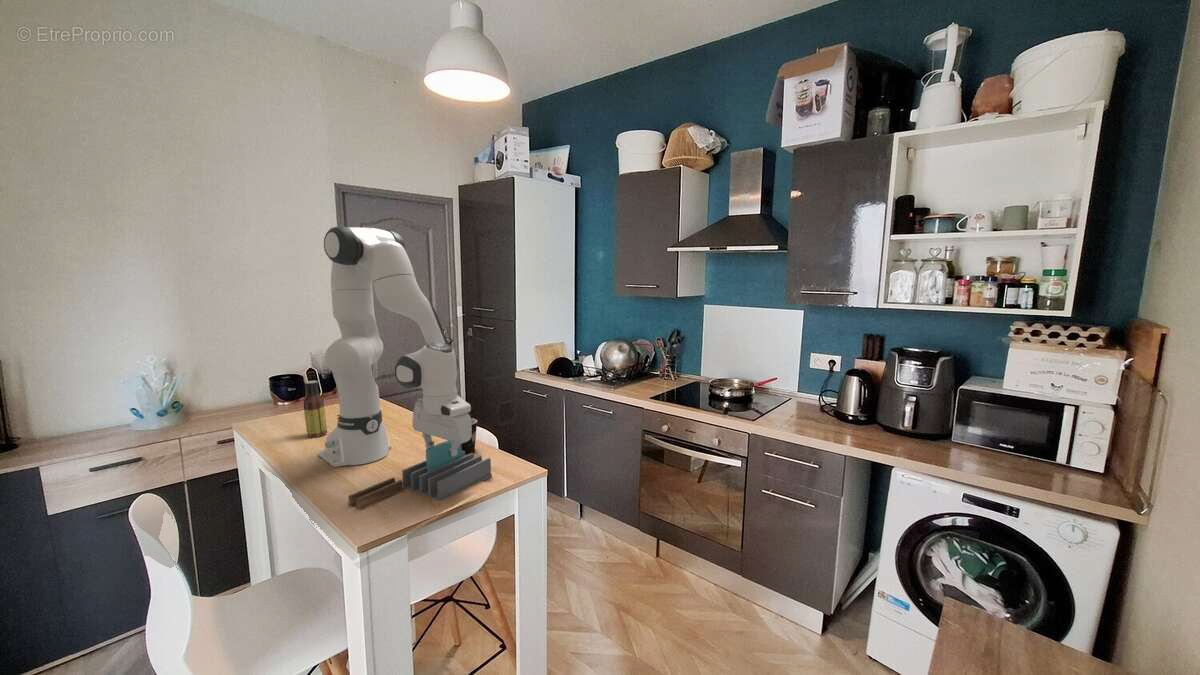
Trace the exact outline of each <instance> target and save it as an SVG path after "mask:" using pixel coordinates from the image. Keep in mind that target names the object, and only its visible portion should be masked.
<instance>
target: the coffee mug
mask: <svg viewBox="0 0 1200 675" xmlns="http://www.w3.org/2000/svg"><path fill="white" fill-rule="evenodd" d="M477 426H478V420H477V419H475V418H471V427H472V435H471V438H470V440H469V441H467V442H465V443H462V444H461V447H462V451H465V456H466V455H468V454H470V453H473V454H474V452H475V450H476V449H475V448H476V441H477V440H476V439H477V438H476V437H477V428H478V427H477Z"/></svg>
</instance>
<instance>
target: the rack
mask: <svg viewBox="0 0 1200 675" xmlns="http://www.w3.org/2000/svg"><path fill="white" fill-rule="evenodd" d="M482 457H483V456H482V455H476V456H474V452H473V453H470V454H468V455H465V451H462V457H461V458H459V459H456V460H454V461H452V462H450V463H447V464H445V465H443V466H440V467H438V468H436V469H434V470H431V471H429V472H427V467H426V460H423V461H421V462H419V463H417V464H416V463H415V464H414V465H411V466H409V467H407V468H404V469H402V470H401V473H402V484H403V489H404V488H405V489H407V490H410V491H412V492H416V493H418V494H420V495H423V496H427V497H429V498H431V499H435V500H437V501H440V502H441V501H443V500H445V499H447V498H449V497H451V496H453V495H455V494H457V493H459V492H461V491H462V490H465V489H466V488H468V487H470V486H472V485H474V484H476V483H479V482H480V481H481V482H485V481H487V480H489V479H490V478H493V474H492V468H491V466H492V465H491V461H492V459H491V457H487V458H485V459H483V458H482Z"/></svg>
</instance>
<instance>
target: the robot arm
mask: <svg viewBox="0 0 1200 675" xmlns="http://www.w3.org/2000/svg"><path fill="white" fill-rule="evenodd" d="M323 248H324V249H323V250H324V252H325V255H326V256H327V257H328V259H329V260H330V261H332V263H331V270H330V272H331V273H330V291H331V292H330V293H331V306H332V315H333V317H334V319H335V320H336V322H337V324H338V328H339V331H340V334H341V338H338V339H336V340H335V341H334V342H332V343H331V344H330V345H329V346H328V347H327V349H326V350H325V352H324V363H325V365H326V368H328V369H329V370H330V371H331V373H332V376H333V378H334V382H335V385H336V389H337V393H338V394H337V395H338V402H339V403H338V404H339V414H337V415H336V417H337V418H336V419H337V423H336V426H337V427H335V428H334V429H333V430H332V431H331V432H330V433H328V435H327V436H326V439H325V440H326V441H325V442H324V447H325V448H323V449H321V450H319V451H318V454H317V455H318V456H319V457H320V458H322V460H324V461H325V462H327V464H329V465H330V466H331V467H333V468H334V467H335V468H337V467H342V466H343V467H344V466H358V465H364V464H369V463H373V462H376V461H379V460H381V459H383V458H385V457H386V456H388V454H389V450H390V449H391V448H392V444H390V443H388V442H389V441H388V436H387V429H386V426H385V424H384V423H382V422H383V412H382V410H381V406H380V405H381V403H380V391H379V386H378V384H377V383H376V381H375V377H374V374H373V370H372V365H374V364H375V363H376V362H378V361H379V359H380V358H381V356H382V355H383V351H384V343H383V341H382V339H381V337H380V332H379V329H378V324H377V320H376V315H375V306H374V293H375V296H376V299H377V300H378V302H379V304H380V305H381V306H382V307H384V308H385V309H387V310H389V311H390V312H392V313H395V314H399V315H402V316H404V317H407V318H409V319H410V320H412V321H414V322H415V323H416V324H417V325H418V327H419V329H420V331H421V332H422V335H423V338H424V340H425V343H426V344H425V345H424V346H423V347H422V348H421V349H419V350H417V351H415V352H411V353H408V354H405V355H402V356H400V357H399V358H398V359H397V361H396V363H395V366H394V375H395V379H396V380H397V383H398V384H399V385H400V386H402V387H403V388H404V389H405V388H406V389H417V388H421V389H422V397H420V398H417V399H416V401H415V403H414V408H413V411H412V424H411V425H412V428H413V430H414V431H416V432H420V433H422V434H421V436H422V439H423V440H424V443H425V449H427V448H429V447H432V446H434V445H435V441H433V439H432V437H436V438H439V439H442V440H445V441H451V445H452V448H451V449H449V455H450V456H453V457H454V456H456V455H457V449H458V447H459V445H460V444H462V443H465V442H467V441H469V440H470V438H471V435H472V427H471V415H470V412H471V410H472V406H471V403H469V402H467V401H466V400H464V399H463V398H462V397H461V396H459V395H458V389H457V385H456V383H457V382H456V381H457V378H458V377H457V376H458V373H457V372H458V371H459V360H458V357H457V356H456V353H455V350H454V348H453V347H452V346H451V345H450V343H449V341H448V339H447V337H446V336H447V335H446V333H445V332H444V329H443V326H442V324H441V321H440V318H439V316H438V314H437V311H436V309H435V307H434V305H433V304H432V302H431V301H430V299H428V297H426V296H425V295H424V293H423V292H422V290H421V288H420V286H419V285H418V283H417V279H416V275H415V273H414V268H413V265H412V262H411V260H410V258H409V256H408V253H407V252H406V243H405V240H404V239H403V237H402V236H401V235H400V234H399V233H397V232H395V231H392V230H389V229H382V228H381V229H379V228H374V227H368V226H365V227H362V226H361V227H360V226H358V227H357V226H355V227H354V226H351V227H350V226H345V225H342V226H334V227H331V228H330V229H328V230H327V232H326V234H325V235H324V238H323Z"/></svg>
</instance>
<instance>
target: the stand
mask: <svg viewBox="0 0 1200 675" xmlns="http://www.w3.org/2000/svg"><path fill="white" fill-rule="evenodd" d="M405 491H406V490H405V489H404V487H403V480H401V479H399V480H397V481H396V478H395V477H390V478H388V479H385V480H383V481H381V482H380V481H379V482H378V483H376V484H373V485H371V486H368V487H366V488H363V489H361V490H359V491H355V492H354V493H352V494H349V495H348V503H347V505H348V506H350V507H352V508H355V509H357V510H359V511H364V510H365V509H367V508H370V507H373V506H374V505H376V504H378V503H381V502H383V501H386V500H387V499H389V498H392V497H394V496H397V495H399V494H401V493H403V492H405Z"/></svg>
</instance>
